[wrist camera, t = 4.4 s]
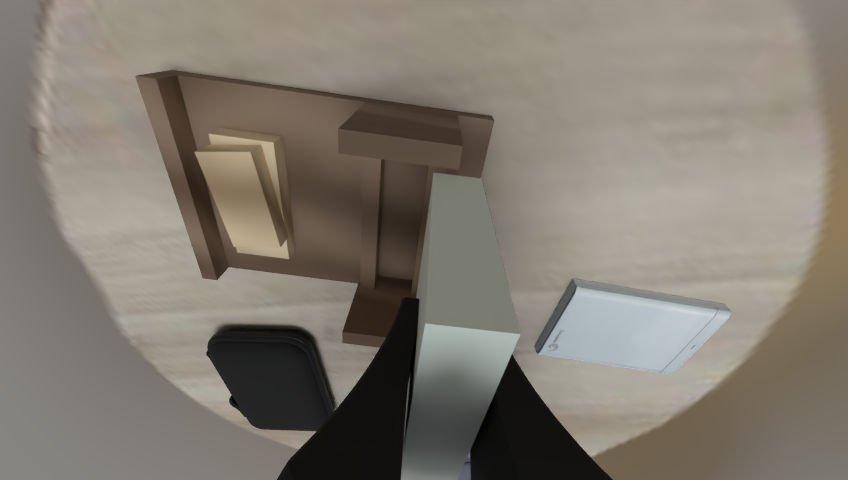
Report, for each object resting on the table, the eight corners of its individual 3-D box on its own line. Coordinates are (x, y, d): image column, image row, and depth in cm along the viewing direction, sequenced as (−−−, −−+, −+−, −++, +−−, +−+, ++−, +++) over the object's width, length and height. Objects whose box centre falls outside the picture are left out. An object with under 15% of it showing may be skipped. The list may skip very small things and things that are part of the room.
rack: (452, 286, 25) (454, 356, 20) (222, 257, 25) (161, 320, 19) (491, 116, 18) (512, 153, 13) (171, 70, 18) (52, 88, 12)
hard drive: (536, 356, 28) (671, 377, 29) (577, 287, 24) (736, 314, 24) (532, 340, 29) (661, 361, 30) (570, 273, 25) (720, 299, 26)
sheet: (447, 323, 18) (450, 494, 12) (413, 320, 18) (396, 488, 12) (481, 178, 13) (520, 334, 7) (433, 172, 13) (424, 323, 7)
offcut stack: (297, 249, 23) (283, 270, 21) (244, 242, 23) (224, 263, 21) (285, 136, 18) (265, 150, 16) (218, 127, 18) (191, 139, 16)
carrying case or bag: (200, 319, 30) (251, 407, 38) (177, 347, 27) (237, 434, 35) (313, 321, 29) (340, 410, 37) (301, 349, 26) (333, 438, 35)
